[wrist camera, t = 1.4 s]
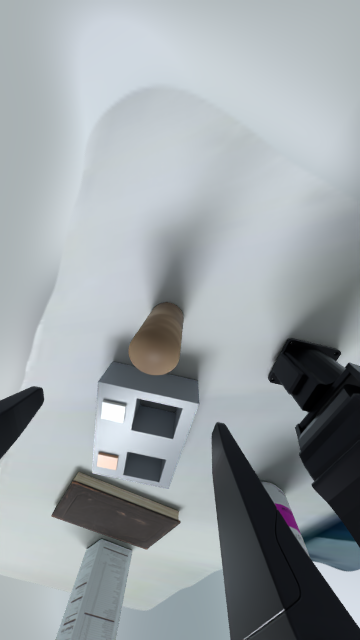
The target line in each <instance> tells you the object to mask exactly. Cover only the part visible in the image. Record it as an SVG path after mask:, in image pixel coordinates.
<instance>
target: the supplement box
mask: <svg viewBox="0 0 360 640" xmlns="http://www.w3.org/2000/svg"><path fill="white" fill-rule="evenodd" d="M131 556H132V550H129V549H127V548H124V547H122V546H119V545H116V544H114V543H111V542H109V541H106V540H103V539H101V540H99V541H98V542H96V543H95V544H94V545H92V546H91V547H90V548H88V549H87V550H86V552H85V555H84V558H83V561H82V564H81V567H80V570H79V573H78V575H77V578H76V581H75V584H74V587H73V590H72V593H71V596H70V599H69V602H68V605H67V608H66V611H65V613H64V616H63V619H62V622H61V625H60V628H59V631H58V634H57V637H56V640H116V635H117V629H118V624H119V619H120V613H121V607H122V603H123V598H124V592H125V587H126V582H127V577H128V571H129V566H130V561H131Z"/></svg>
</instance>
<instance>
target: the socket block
mask: <svg viewBox="0 0 360 640" xmlns="http://www.w3.org/2000/svg"><path fill="white" fill-rule="evenodd" d="M141 399H142V400H147V401H152V402H156V403H161V404H165V405H170V406H174V407H177V409H176V413H174V412H169V411H165V410H160V409H155V408H151V407H146V406H142V405H140V400H141ZM198 406H199V391H198V381H197V380H193V379H188V378H184V377H180V376H175V375H171V374H163V375H150V374H146V373H144V372H142V371H140V370H139V369H137V368H136V367H135V366H131V365H126V364H122V363H117V362H112V363H111V365H110V366H109V367H108V369H107V370H106V372H105V373H104V374H103V376H102V377H101V379H100V380H99V381H98V392H97V407H96V422H95V437H94V452H93V467H92V473H93V474H98V475H103V476H108V477H112V478H117V479H122V480H127V481H132V482H137V483H142V484H147V485H152V486H156V487H161V488H166V489H169V487H170V484H171V481H172V478H173V475H174V473H175V470H176V467H177V464H178V462H179V459H180V456H181V453H182V451H183V448H184V445H185V442H186V439H187V437H188V434H189V431H190V428H191V426H192V423H193V420H194V417H195V415H196V412H197V409H198Z"/></svg>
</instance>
